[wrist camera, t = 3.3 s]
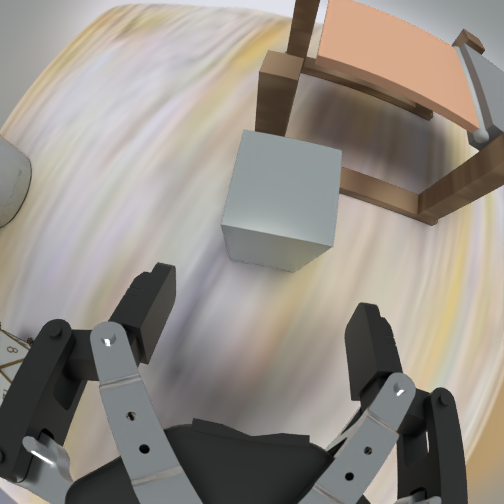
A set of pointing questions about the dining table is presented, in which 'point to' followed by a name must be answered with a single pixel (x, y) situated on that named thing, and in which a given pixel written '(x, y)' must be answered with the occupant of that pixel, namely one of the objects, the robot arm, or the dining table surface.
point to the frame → (357, 184)
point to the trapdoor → (415, 67)
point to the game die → (10, 359)
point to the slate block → (281, 201)
